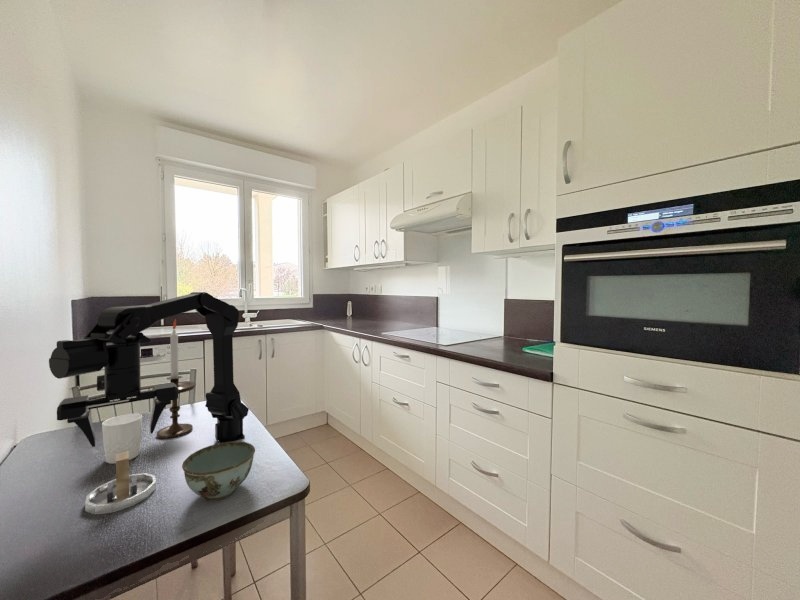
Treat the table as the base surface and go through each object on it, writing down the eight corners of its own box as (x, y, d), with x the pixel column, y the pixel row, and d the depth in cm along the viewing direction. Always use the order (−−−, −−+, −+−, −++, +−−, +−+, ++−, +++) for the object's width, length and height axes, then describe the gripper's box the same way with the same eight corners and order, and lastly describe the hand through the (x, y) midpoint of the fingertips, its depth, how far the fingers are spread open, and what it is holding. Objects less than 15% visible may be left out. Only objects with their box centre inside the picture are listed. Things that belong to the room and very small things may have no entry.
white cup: (119, 466, 78) (118, 426, 77) (94, 463, 79) (93, 424, 79) (150, 451, 85) (149, 414, 85) (126, 448, 87) (126, 412, 87)
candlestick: (171, 424, 102) (170, 318, 102) (203, 425, 102) (202, 318, 101) (143, 440, 92) (141, 320, 91) (179, 441, 91) (177, 321, 91)
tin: (153, 474, 74) (153, 464, 74) (157, 497, 66) (157, 485, 66) (88, 494, 67) (88, 482, 67) (83, 522, 59) (83, 509, 59)
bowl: (203, 523, 59) (202, 481, 58) (170, 498, 66) (169, 460, 66) (268, 485, 70) (267, 450, 70) (233, 467, 77) (233, 435, 77)
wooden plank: (128, 487, 69) (128, 450, 68) (129, 495, 66) (128, 458, 65) (116, 490, 67) (115, 454, 67) (116, 500, 64) (115, 461, 64)
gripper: (172, 355, 79) (173, 416, 79) (64, 366, 66) (65, 439, 67) (178, 362, 70) (179, 431, 71) (55, 377, 58) (57, 460, 58)
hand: (124, 439), depth 67 cm, fingers open, 9 cm apart
